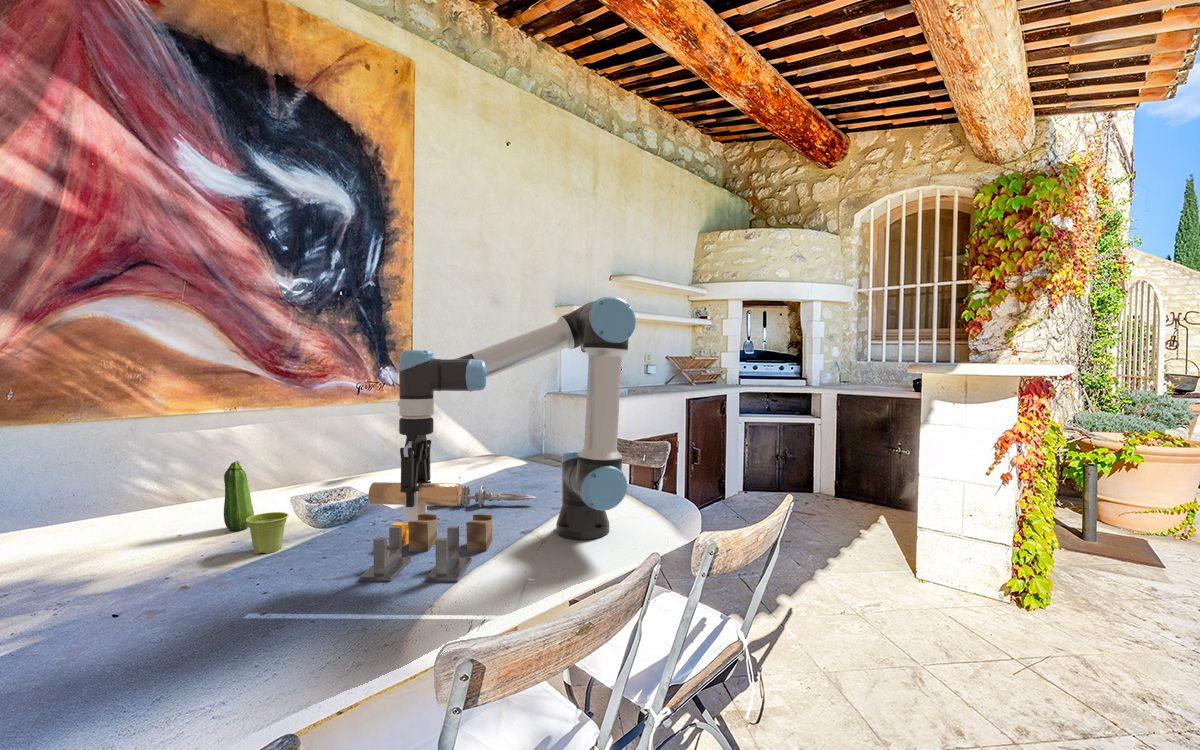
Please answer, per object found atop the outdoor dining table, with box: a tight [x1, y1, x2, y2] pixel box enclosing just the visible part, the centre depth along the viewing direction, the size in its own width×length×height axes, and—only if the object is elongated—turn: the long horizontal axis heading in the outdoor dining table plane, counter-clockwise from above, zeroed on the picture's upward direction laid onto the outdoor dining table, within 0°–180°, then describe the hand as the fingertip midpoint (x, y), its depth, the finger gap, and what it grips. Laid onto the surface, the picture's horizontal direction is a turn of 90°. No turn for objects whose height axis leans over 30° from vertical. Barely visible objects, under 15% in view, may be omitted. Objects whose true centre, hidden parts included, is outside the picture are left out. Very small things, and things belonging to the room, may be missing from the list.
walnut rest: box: [407, 513, 493, 552], centre depth 140 cm, size 20×8×8 cm, turn 89°
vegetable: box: [223, 460, 255, 532], centre depth 154 cm, size 7×7×20 cm
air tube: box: [368, 481, 463, 507], centre depth 124 cm, size 20×5×5 cm, turn 89°
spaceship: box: [458, 484, 537, 509], centre depth 176 cm, size 8×35×8 cm, turn 90°
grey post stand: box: [358, 525, 473, 583], centre depth 124 cm, size 22×12×9 cm, turn 89°
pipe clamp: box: [390, 521, 409, 548], centre depth 145 cm, size 12×4×6 cm, turn 172°
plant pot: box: [246, 511, 289, 554], centre depth 138 cm, size 9×9×9 cm
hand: (416, 516), depth 124 cm, fingers closed on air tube, 5 cm apart
